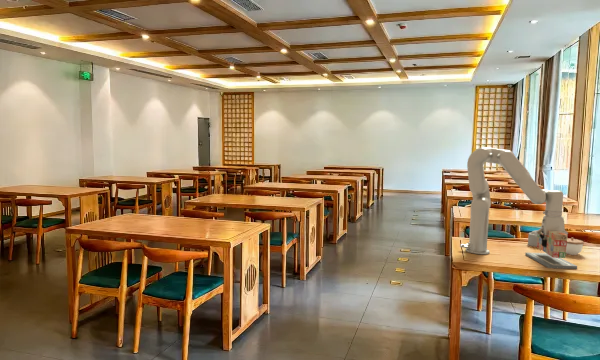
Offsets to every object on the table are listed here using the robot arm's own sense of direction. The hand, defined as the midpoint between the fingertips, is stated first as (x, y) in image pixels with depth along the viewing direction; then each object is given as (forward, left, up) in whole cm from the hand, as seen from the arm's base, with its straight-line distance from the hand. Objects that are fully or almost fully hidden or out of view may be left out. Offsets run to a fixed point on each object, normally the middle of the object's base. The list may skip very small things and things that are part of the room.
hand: (551, 246), depth 220 cm
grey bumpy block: (+13, +37, -8) cm, 40 cm away
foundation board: (0, 0, -8) cm, 8 cm away
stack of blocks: (0, 0, -3) cm, 3 cm away
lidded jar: (+22, +19, -8) cm, 30 cm away
